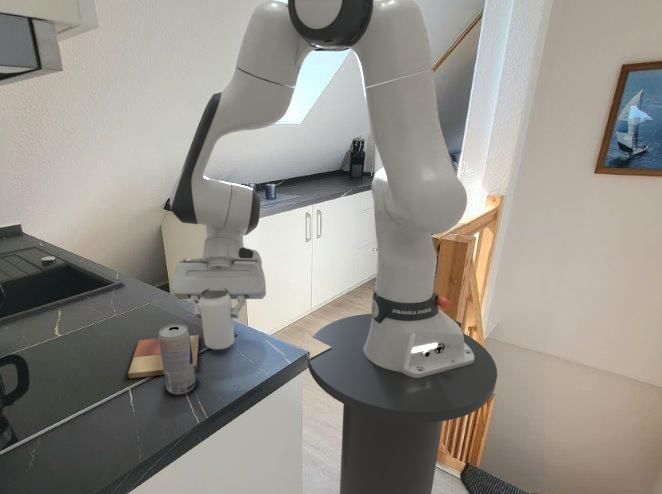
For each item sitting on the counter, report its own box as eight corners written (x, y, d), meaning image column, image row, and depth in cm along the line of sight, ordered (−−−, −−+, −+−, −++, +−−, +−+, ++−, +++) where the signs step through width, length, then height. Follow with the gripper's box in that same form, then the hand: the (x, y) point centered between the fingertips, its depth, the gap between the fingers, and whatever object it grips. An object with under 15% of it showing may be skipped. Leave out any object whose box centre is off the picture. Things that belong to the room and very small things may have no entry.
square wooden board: (198, 339, 92) (198, 334, 92) (196, 371, 81) (196, 365, 80) (139, 345, 91) (139, 340, 90) (129, 378, 79) (127, 372, 78)
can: (199, 342, 88) (192, 292, 84) (224, 332, 92) (219, 284, 88) (215, 354, 84) (209, 301, 79) (240, 343, 88) (236, 292, 83)
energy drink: (195, 376, 79) (189, 321, 74) (196, 393, 74) (188, 335, 69) (167, 380, 78) (158, 325, 73) (165, 397, 73) (156, 339, 68)
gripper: (172, 252, 88) (163, 312, 83) (265, 251, 87) (262, 312, 81) (181, 264, 94) (173, 321, 89) (268, 264, 93) (265, 322, 87)
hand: (216, 317), depth 85 cm, fingers closed on can, 6 cm apart
